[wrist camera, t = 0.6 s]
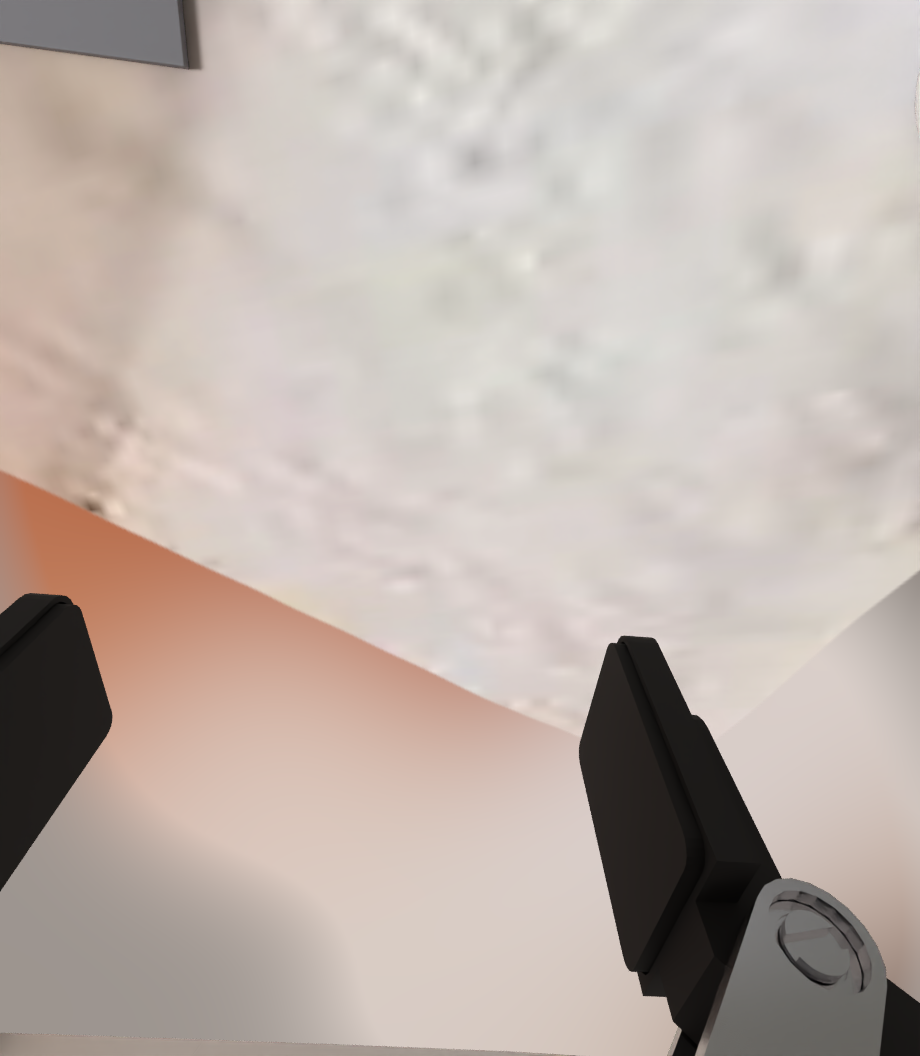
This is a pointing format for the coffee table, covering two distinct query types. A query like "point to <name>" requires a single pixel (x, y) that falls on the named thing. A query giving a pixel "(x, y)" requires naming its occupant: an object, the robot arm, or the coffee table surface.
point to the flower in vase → (917, 104)
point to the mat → (99, 28)
